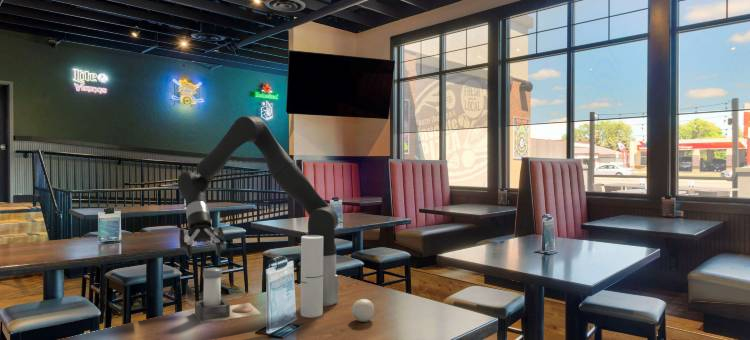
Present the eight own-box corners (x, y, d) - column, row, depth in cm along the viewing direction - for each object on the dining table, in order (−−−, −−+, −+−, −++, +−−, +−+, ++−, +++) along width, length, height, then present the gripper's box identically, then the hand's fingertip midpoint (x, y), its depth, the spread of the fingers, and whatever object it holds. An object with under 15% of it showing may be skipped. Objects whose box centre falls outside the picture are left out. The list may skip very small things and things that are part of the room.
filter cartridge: (219, 310, 146) (219, 266, 146) (223, 315, 142) (223, 270, 142) (201, 313, 144) (201, 268, 143) (204, 318, 139) (204, 272, 139)
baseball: (350, 317, 146) (350, 296, 146) (373, 317, 147) (373, 296, 147) (351, 325, 139) (351, 303, 139) (375, 324, 140) (375, 302, 140)
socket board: (249, 307, 155) (249, 292, 155) (261, 318, 144) (261, 302, 144) (192, 315, 146) (192, 300, 146) (200, 328, 135) (200, 311, 135)
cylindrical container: (318, 318, 145) (319, 238, 145) (297, 316, 146) (297, 238, 146) (325, 311, 152) (326, 235, 152) (305, 309, 153) (305, 234, 153)
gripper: (177, 211, 156) (183, 250, 147) (221, 209, 164) (228, 246, 154) (175, 224, 161) (180, 263, 151) (217, 222, 168) (224, 259, 158)
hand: (204, 255), depth 153 cm, fingers open, 8 cm apart
